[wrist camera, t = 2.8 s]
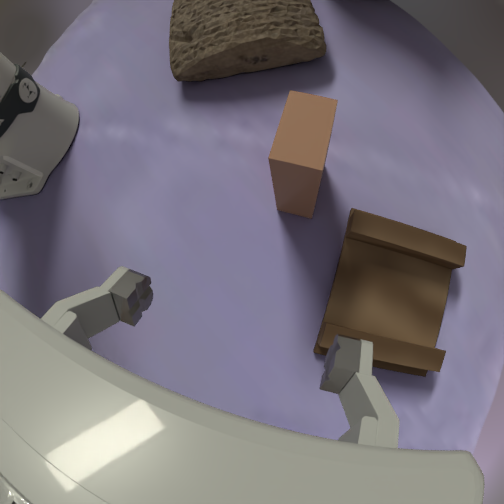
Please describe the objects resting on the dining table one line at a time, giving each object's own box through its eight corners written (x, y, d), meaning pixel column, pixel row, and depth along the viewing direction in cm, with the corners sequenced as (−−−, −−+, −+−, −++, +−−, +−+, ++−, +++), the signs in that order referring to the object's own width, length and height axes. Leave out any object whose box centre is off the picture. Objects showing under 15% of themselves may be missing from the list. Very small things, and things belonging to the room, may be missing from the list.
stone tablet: (183, -4, 39) (176, 94, 34) (172, -34, 31) (154, 52, 26) (286, -21, 37) (331, 70, 32) (283, -53, 29) (336, 23, 24)
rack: (422, 374, 24) (436, 382, 21) (313, 351, 26) (316, 357, 23) (452, 242, 26) (467, 236, 23) (350, 210, 28) (356, 199, 25)
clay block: (311, 218, 28) (322, 170, 18) (277, 209, 29) (268, 158, 18) (324, 165, 29) (337, 100, 18) (291, 157, 30) (289, 90, 19)
